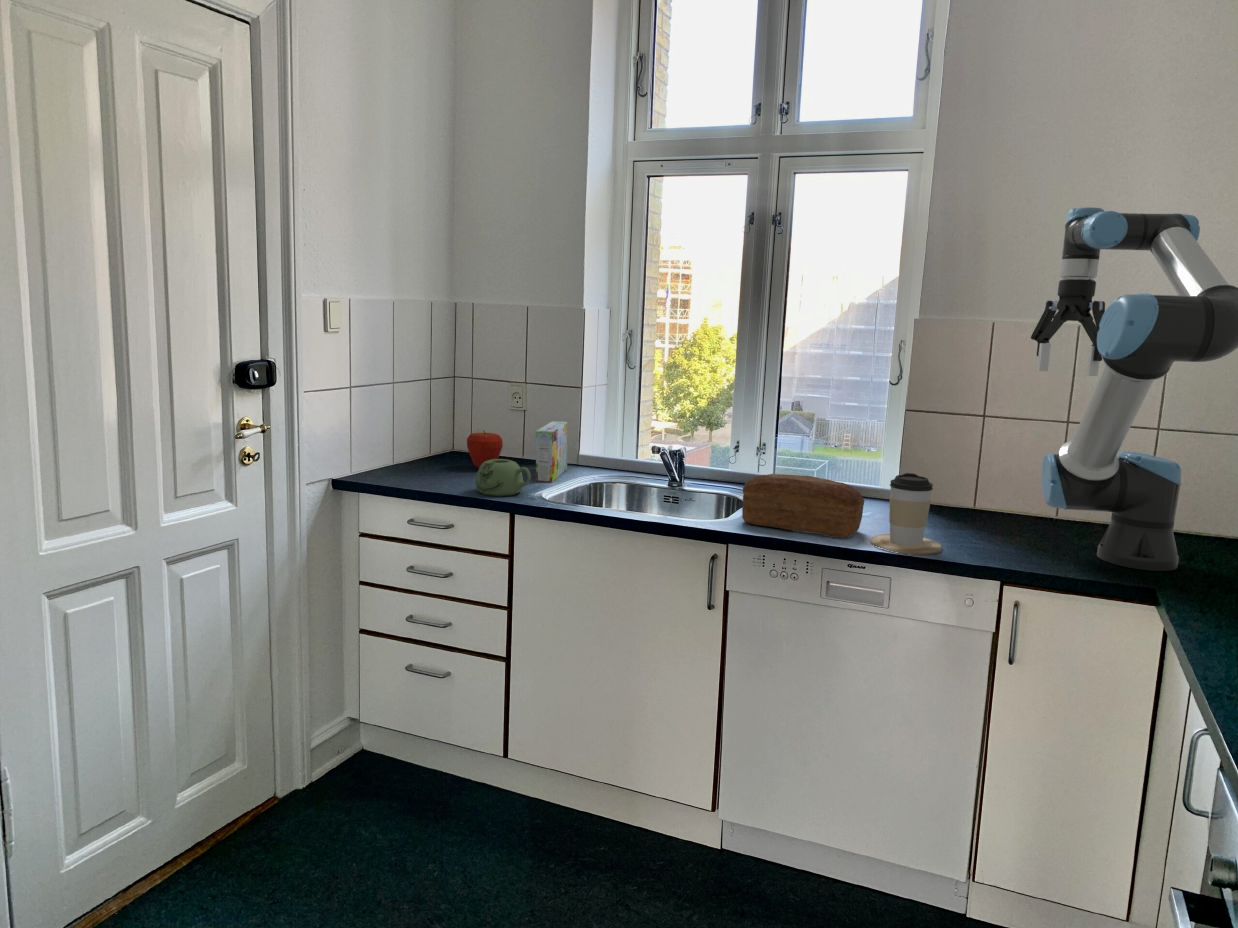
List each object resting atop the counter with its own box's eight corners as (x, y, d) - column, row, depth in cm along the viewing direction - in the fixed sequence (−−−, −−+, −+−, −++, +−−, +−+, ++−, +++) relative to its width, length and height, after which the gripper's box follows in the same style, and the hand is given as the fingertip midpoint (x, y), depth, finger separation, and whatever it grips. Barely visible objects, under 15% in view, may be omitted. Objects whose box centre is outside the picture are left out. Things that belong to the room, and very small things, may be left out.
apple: (485, 473, 262) (485, 433, 260) (458, 469, 268) (458, 429, 266) (509, 468, 271) (510, 430, 269) (483, 464, 277) (483, 426, 275)
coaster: (956, 552, 192) (956, 548, 192) (900, 557, 187) (901, 553, 187) (909, 535, 206) (909, 531, 206) (856, 539, 200) (857, 535, 200)
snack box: (550, 468, 274) (551, 420, 271) (567, 470, 273) (569, 421, 271) (534, 481, 253) (535, 429, 251) (553, 482, 253) (554, 430, 250)
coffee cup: (929, 548, 191) (936, 481, 188) (886, 545, 193) (892, 478, 190) (924, 538, 200) (930, 473, 197) (882, 535, 202) (888, 470, 199)
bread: (753, 514, 223) (756, 466, 220) (866, 531, 209) (870, 480, 207) (733, 525, 210) (736, 474, 208) (851, 543, 197) (856, 490, 195)
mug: (465, 493, 234) (465, 461, 233) (492, 485, 246) (493, 455, 244) (517, 501, 228) (517, 468, 226) (542, 492, 239) (543, 461, 238)
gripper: (1140, 279, 189) (1126, 378, 193) (1045, 280, 212) (1034, 369, 216) (1115, 277, 187) (1102, 378, 190) (1021, 279, 209) (1011, 369, 213)
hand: (1066, 373), depth 203 cm, fingers open, 13 cm apart
